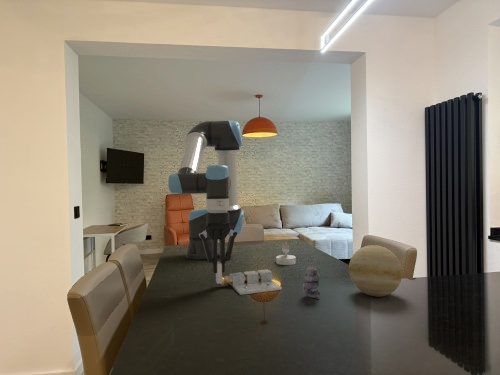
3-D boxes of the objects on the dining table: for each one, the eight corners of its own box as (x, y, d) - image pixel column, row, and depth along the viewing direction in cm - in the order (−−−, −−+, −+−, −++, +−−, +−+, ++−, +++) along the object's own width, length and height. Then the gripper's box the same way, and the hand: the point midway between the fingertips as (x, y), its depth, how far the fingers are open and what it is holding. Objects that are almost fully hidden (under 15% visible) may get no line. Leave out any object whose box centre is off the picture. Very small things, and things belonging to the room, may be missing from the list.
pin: (220, 284, 108) (220, 276, 108) (263, 279, 113) (263, 271, 113) (222, 286, 106) (222, 278, 106) (266, 281, 111) (266, 273, 111)
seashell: (321, 295, 97) (320, 262, 97) (319, 301, 92) (318, 267, 92) (303, 294, 99) (303, 261, 99) (300, 300, 94) (300, 265, 94)
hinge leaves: (224, 278, 117) (224, 268, 117) (260, 274, 122) (259, 264, 122) (240, 295, 99) (239, 282, 99) (281, 289, 103) (281, 277, 103)
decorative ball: (347, 300, 93) (346, 248, 93) (351, 285, 106) (350, 240, 106) (404, 306, 87) (403, 251, 87) (401, 290, 101) (400, 242, 101)
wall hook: (275, 243, 135) (275, 239, 145) (275, 265, 135) (276, 260, 145) (296, 243, 135) (295, 239, 144) (296, 265, 134) (295, 260, 144)
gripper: (200, 213, 101) (201, 287, 101) (239, 211, 105) (240, 283, 105) (196, 211, 108) (197, 281, 108) (233, 210, 112) (234, 277, 112)
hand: (218, 282), depth 107 cm, fingers closed
